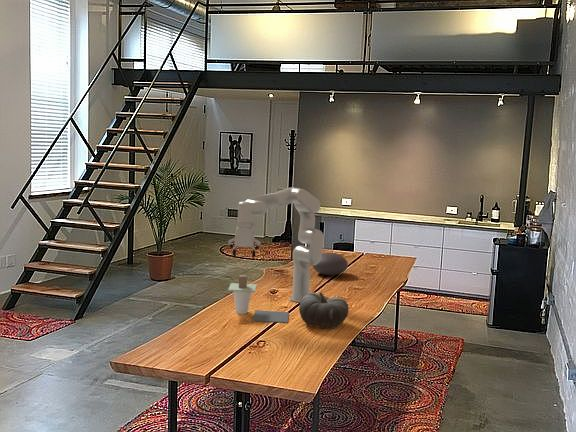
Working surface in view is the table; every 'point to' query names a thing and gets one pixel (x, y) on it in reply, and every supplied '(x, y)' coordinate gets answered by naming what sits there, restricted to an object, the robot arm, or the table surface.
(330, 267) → the smooth stone
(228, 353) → the table surface
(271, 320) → the mat
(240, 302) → the foam cup
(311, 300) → the gourd
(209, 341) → the table surface
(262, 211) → the robot arm
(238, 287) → the lid
